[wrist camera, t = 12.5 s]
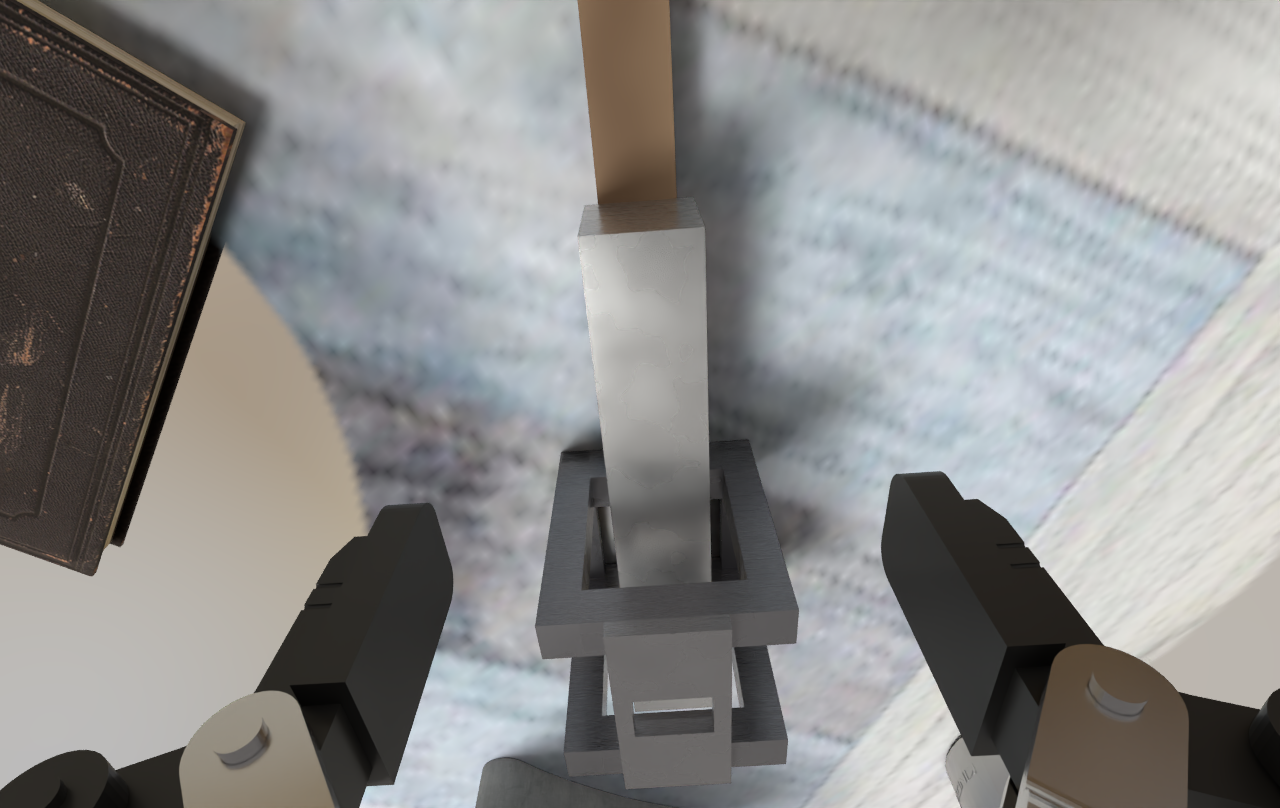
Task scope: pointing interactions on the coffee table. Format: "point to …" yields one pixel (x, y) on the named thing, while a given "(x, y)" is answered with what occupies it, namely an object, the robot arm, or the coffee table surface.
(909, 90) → the coffee table surface
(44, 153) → the hardcover book
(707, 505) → the square steel tube
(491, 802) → the hip flask
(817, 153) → the coffee table surface
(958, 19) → the coffee table surface
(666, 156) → the walnut rail
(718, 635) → the frame
